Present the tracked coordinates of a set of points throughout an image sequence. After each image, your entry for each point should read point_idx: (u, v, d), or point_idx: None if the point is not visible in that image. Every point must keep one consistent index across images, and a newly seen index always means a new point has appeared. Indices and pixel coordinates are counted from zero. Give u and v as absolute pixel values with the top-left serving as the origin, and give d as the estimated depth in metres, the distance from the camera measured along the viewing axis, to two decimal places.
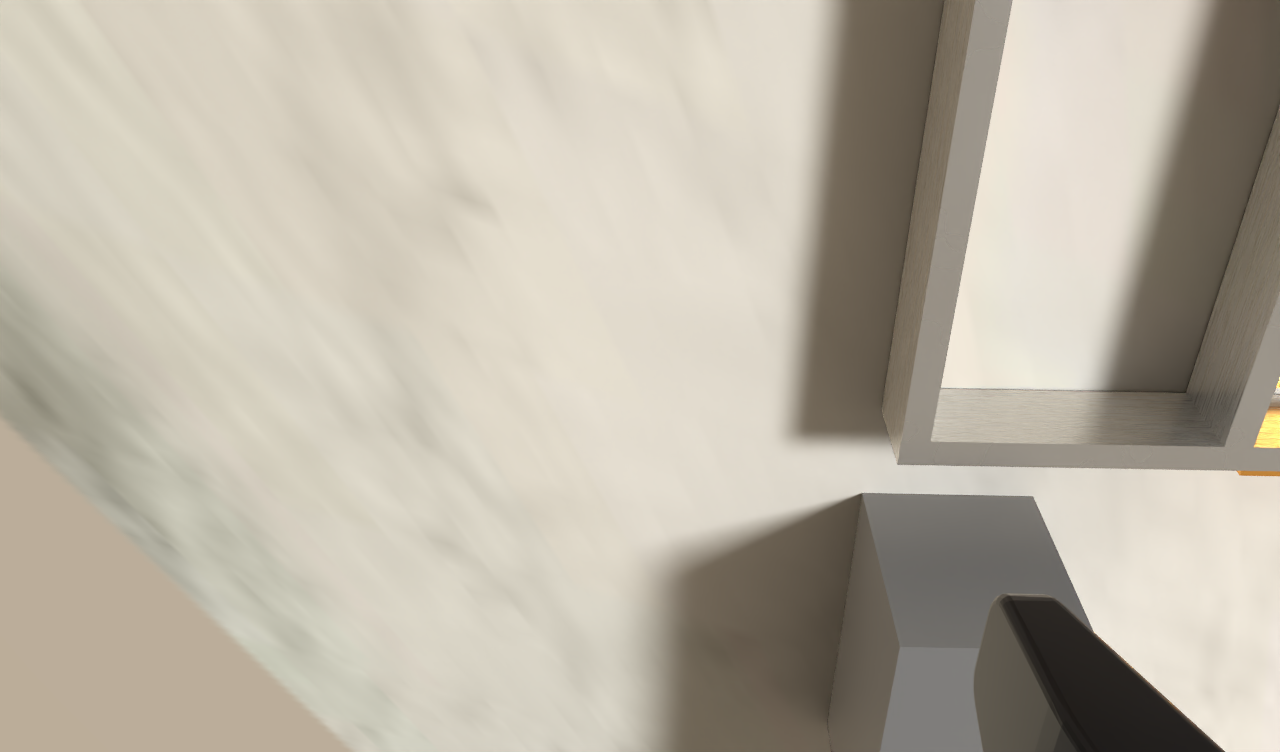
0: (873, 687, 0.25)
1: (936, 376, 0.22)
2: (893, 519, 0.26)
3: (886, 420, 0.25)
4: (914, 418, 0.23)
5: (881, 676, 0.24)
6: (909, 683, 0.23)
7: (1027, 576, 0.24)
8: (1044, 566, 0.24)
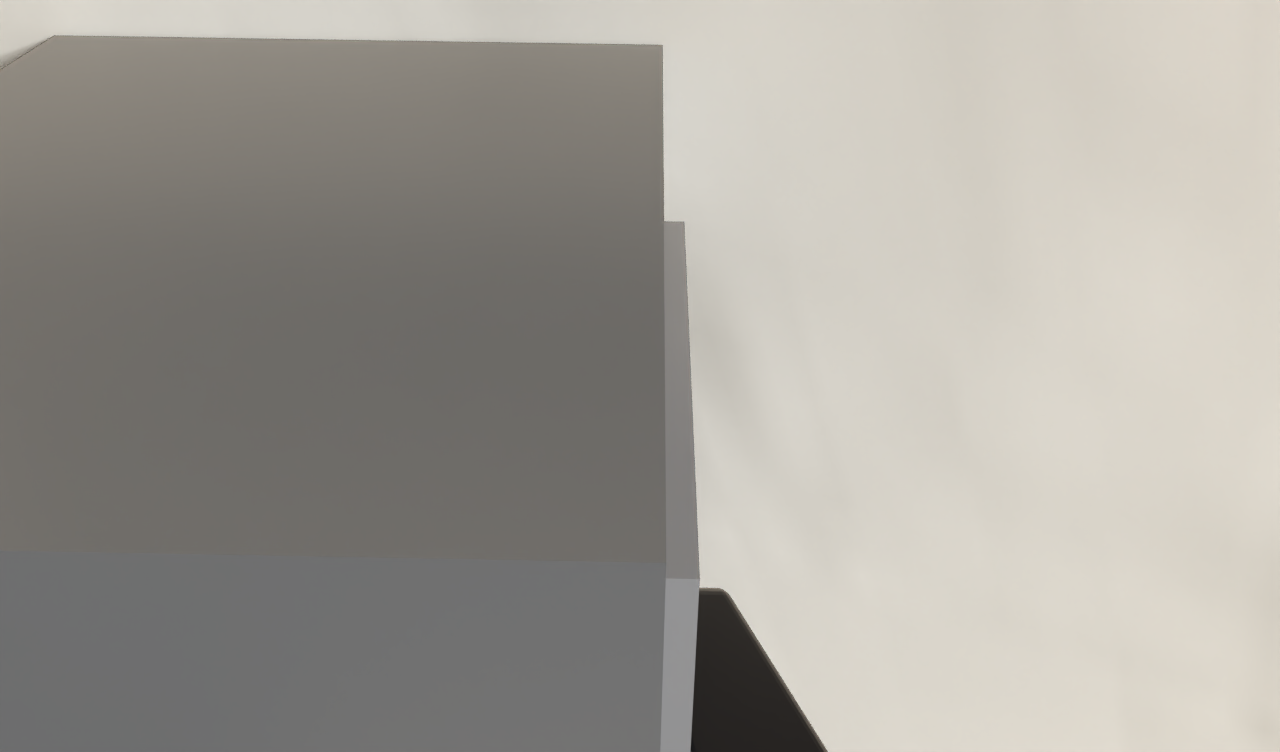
0: None
1: None
2: (71, 91, 0.07)
3: None
4: None
5: None
6: None
7: (463, 233, 0.05)
8: (570, 203, 0.05)
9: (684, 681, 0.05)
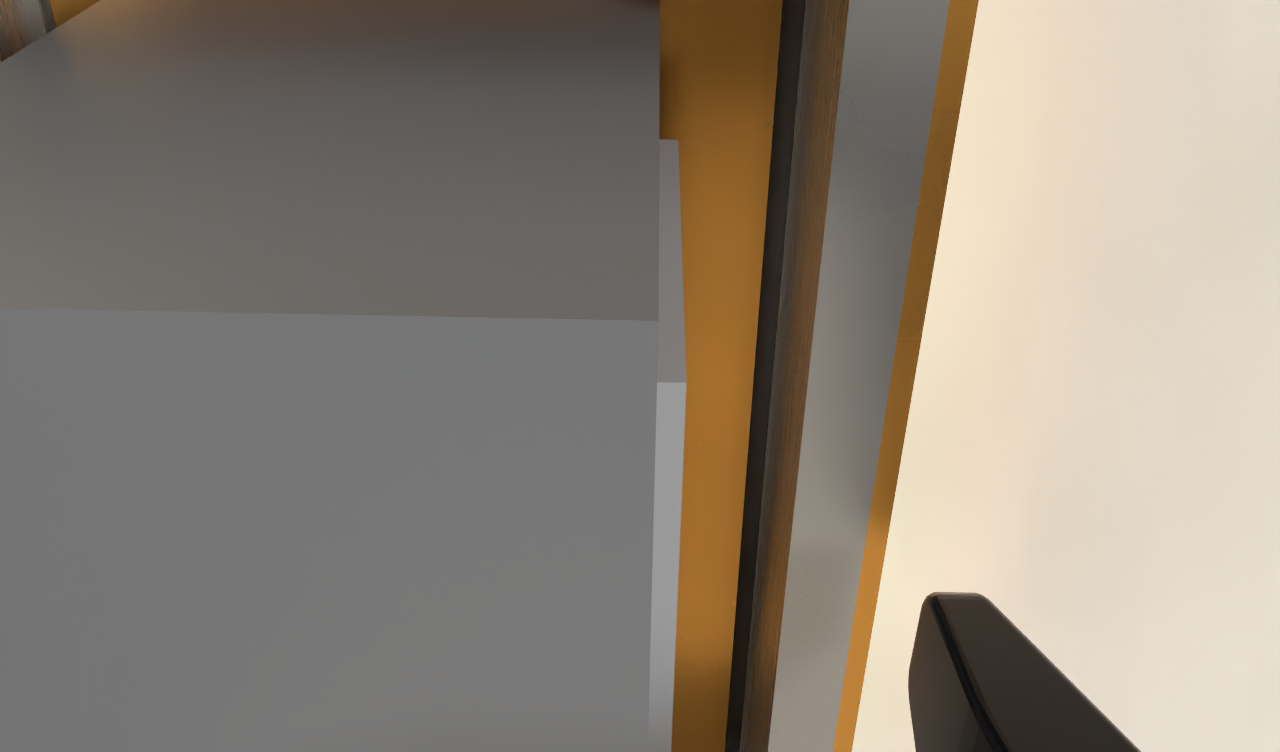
0: None
1: None
2: (155, 22, 0.08)
3: None
4: None
5: None
6: None
7: (495, 120, 0.06)
8: (582, 102, 0.06)
9: (674, 475, 0.06)
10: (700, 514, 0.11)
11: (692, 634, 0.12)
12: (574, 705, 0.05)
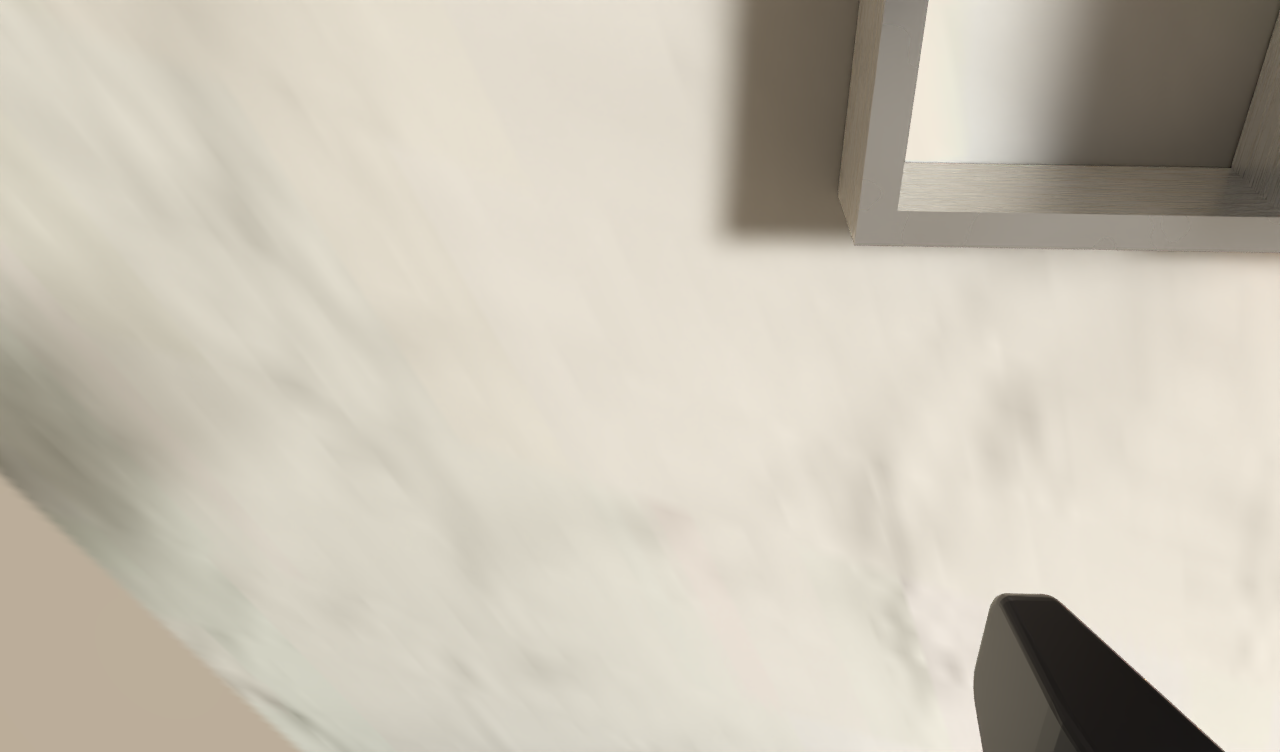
0: None
1: (903, 112, 0.17)
2: None
3: (842, 201, 0.19)
4: (875, 175, 0.17)
5: None
6: None
7: None
8: None
9: None
10: None
11: None
12: None
